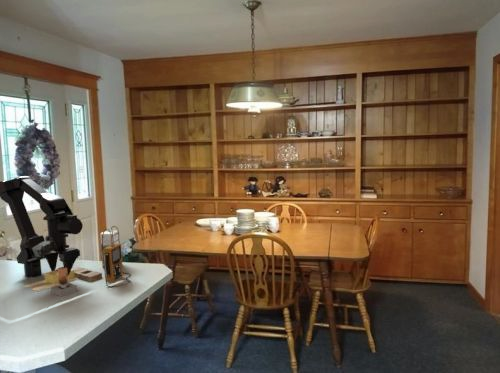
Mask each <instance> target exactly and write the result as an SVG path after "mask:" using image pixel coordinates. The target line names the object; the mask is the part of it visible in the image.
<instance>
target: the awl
mask: <svg viewBox="0 0 500 373" xmlns="http://www.w3.org/2000/svg"><path fill="white" fill-rule="evenodd" d="M57 269H58V278H59V284H60V285H61V289H64V288H67V283H69V282H68V275H67V267H64V266H61V267H58V268H57Z"/></svg>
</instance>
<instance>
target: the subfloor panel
mask: <svg viewBox="0 0 500 373" xmlns="http://www.w3.org/2000/svg"><path fill="white" fill-rule="evenodd" d="M77 279H79V278H77V277H75V278H72V279H69V280H68V283H70V282H71V281H75V280H77ZM58 285H61V284H59V283H56V284H52V283H49V282H46V281H45V279H43V280H39V281H35V282H32V283H29V284H25V285H24V287H25V288H28V289H30V290H33V291H36V292H42V291H45V290H47V289H50V288H52V287H55V286H58Z"/></svg>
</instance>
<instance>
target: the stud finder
mask: <svg viewBox="0 0 500 373" xmlns="http://www.w3.org/2000/svg"><path fill="white" fill-rule="evenodd" d="M72 278H75V274H74V270H73V269H71V271H70V274H69V275H68V280H69V279H72ZM44 280H45V281H46V282H49V283H52V284H56V283H59V278H58V268H56V269H55V270H54V271H48V272H45V273H44Z"/></svg>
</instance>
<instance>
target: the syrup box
mask: <svg viewBox="0 0 500 373" xmlns="http://www.w3.org/2000/svg"><path fill="white" fill-rule="evenodd" d="M112 231H113V237H112V238H113V239H114V244H119V242H120V239H119V240H118V231H119V230H110V231H108V230H106V231H105V232H104V231H102V232H101V233H99V237H100V251H101V261H102V262H101V263H102V268H104V264H105V257H104V261H103V253H104V248H106V247H108V246H110V245H111V236H112ZM103 232H104V234H103ZM110 232H111V233H110ZM102 235H103V251H102Z"/></svg>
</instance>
